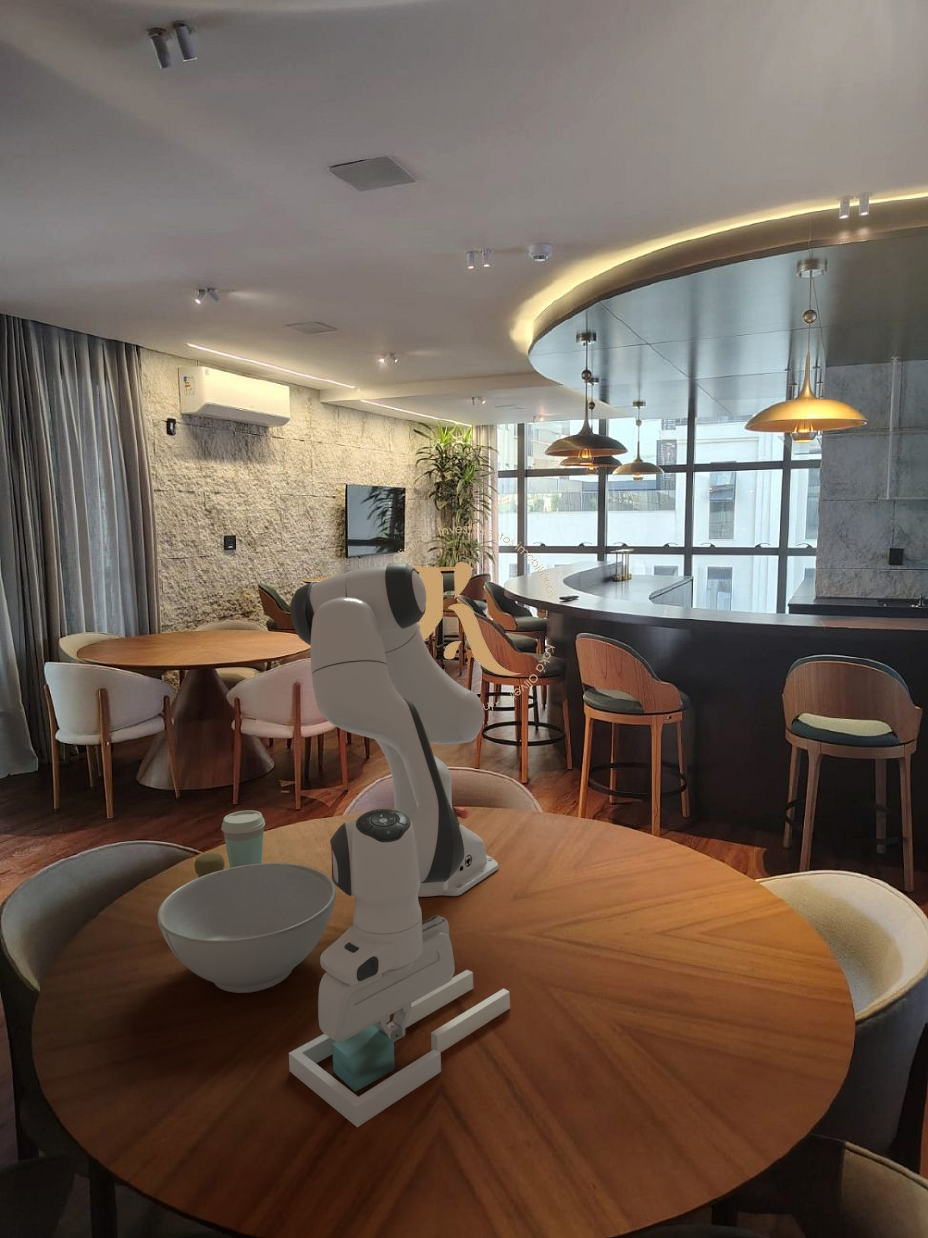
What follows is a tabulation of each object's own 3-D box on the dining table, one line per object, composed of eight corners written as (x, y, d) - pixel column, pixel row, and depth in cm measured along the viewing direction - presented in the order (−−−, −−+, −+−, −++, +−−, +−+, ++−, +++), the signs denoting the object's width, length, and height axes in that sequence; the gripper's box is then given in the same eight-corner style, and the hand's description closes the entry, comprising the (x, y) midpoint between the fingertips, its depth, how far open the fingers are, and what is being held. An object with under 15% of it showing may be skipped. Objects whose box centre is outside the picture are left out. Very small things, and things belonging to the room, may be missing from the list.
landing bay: (371, 1025, 113) (370, 1008, 112) (441, 1071, 103) (440, 1053, 102) (289, 1071, 104) (288, 1053, 103) (357, 1127, 93) (356, 1107, 93)
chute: (467, 985, 122) (467, 969, 122) (510, 1008, 116) (509, 991, 115) (395, 1027, 112) (394, 1010, 112) (437, 1054, 106) (437, 1036, 106)
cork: (235, 906, 150) (231, 849, 149) (222, 922, 144) (218, 862, 143) (203, 905, 151) (199, 848, 150) (189, 921, 145) (185, 862, 144)
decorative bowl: (123, 1002, 120) (116, 924, 119) (236, 919, 145) (232, 854, 144) (275, 1039, 110) (270, 954, 109) (369, 943, 135) (366, 874, 134)
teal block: (372, 1052, 107) (371, 1024, 107) (394, 1071, 103) (393, 1041, 103) (333, 1073, 103) (332, 1043, 103) (355, 1093, 100) (353, 1062, 99)
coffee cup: (276, 867, 167) (272, 811, 166) (252, 885, 159) (248, 826, 158) (240, 863, 170) (237, 807, 168) (215, 880, 162) (211, 822, 160)
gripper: (431, 903, 114) (435, 996, 116) (308, 960, 100) (314, 1065, 101) (463, 918, 110) (466, 1014, 111) (338, 979, 95) (344, 1089, 97)
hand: (392, 1039), depth 106 cm, fingers closed
